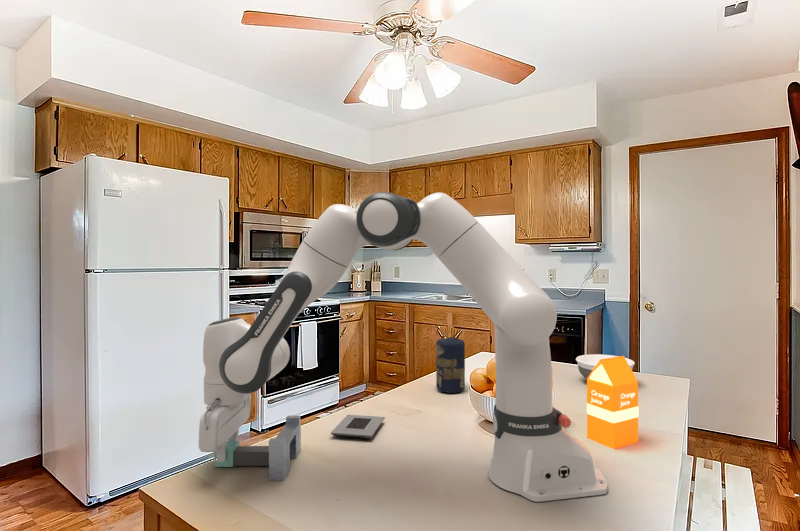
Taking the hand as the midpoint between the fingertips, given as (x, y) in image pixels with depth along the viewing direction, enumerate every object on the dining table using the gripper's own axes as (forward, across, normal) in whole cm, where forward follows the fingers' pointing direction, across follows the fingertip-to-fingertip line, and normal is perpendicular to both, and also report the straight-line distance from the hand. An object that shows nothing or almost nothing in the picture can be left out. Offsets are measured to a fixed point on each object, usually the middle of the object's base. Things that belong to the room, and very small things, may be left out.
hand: (227, 455), depth 101 cm
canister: (+2, +54, -54) cm, 76 cm away
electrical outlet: (+3, +19, -27) cm, 33 cm away
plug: (+2, 0, -4) cm, 4 cm away
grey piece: (+2, 0, -13) cm, 13 cm away
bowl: (+2, +61, -108) cm, 124 cm away
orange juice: (+2, +12, -89) cm, 90 cm away
